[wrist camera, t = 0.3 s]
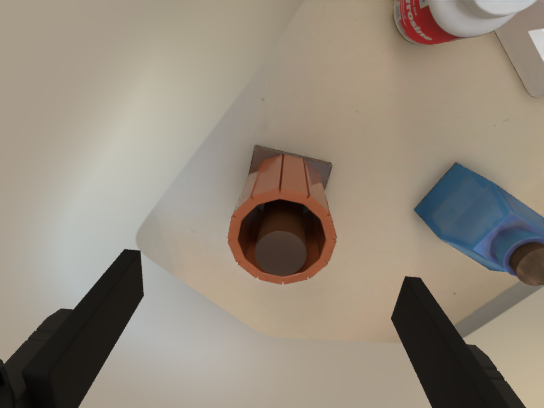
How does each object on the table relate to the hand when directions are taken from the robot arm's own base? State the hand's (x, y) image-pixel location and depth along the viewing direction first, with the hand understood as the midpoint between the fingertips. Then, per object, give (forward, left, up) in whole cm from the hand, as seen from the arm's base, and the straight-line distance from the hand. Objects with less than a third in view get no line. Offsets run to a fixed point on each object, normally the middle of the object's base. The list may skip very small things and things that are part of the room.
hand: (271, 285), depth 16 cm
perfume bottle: (-1, +19, -19) cm, 26 cm away
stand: (+2, +1, -19) cm, 19 cm away
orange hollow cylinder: (+2, +1, -18) cm, 18 cm away
